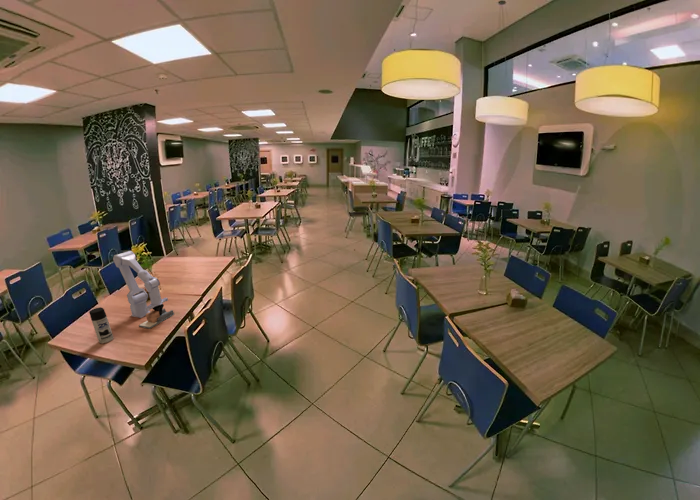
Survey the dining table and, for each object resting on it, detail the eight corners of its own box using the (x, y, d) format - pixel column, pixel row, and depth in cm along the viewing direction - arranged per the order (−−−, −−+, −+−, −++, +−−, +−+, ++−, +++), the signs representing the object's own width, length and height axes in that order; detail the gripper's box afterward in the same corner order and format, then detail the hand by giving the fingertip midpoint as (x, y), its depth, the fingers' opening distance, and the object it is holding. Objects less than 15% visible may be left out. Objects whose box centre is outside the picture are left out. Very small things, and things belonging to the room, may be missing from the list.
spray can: (101, 345, 163) (91, 314, 157) (97, 341, 167) (86, 310, 161) (115, 339, 169) (106, 308, 163) (110, 335, 172) (101, 305, 166)
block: (147, 321, 184) (145, 314, 182) (154, 317, 189) (152, 310, 187) (153, 322, 183) (151, 315, 181) (160, 318, 187) (158, 311, 186)
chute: (138, 326, 181) (137, 322, 180) (164, 312, 197) (163, 308, 196) (149, 328, 178) (148, 324, 177) (174, 314, 195) (173, 310, 194)
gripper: (149, 302, 177) (154, 321, 182) (169, 292, 191) (173, 310, 195) (140, 301, 179) (146, 320, 184) (161, 291, 193) (165, 309, 197)
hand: (159, 315), depth 189 cm, fingers closed
